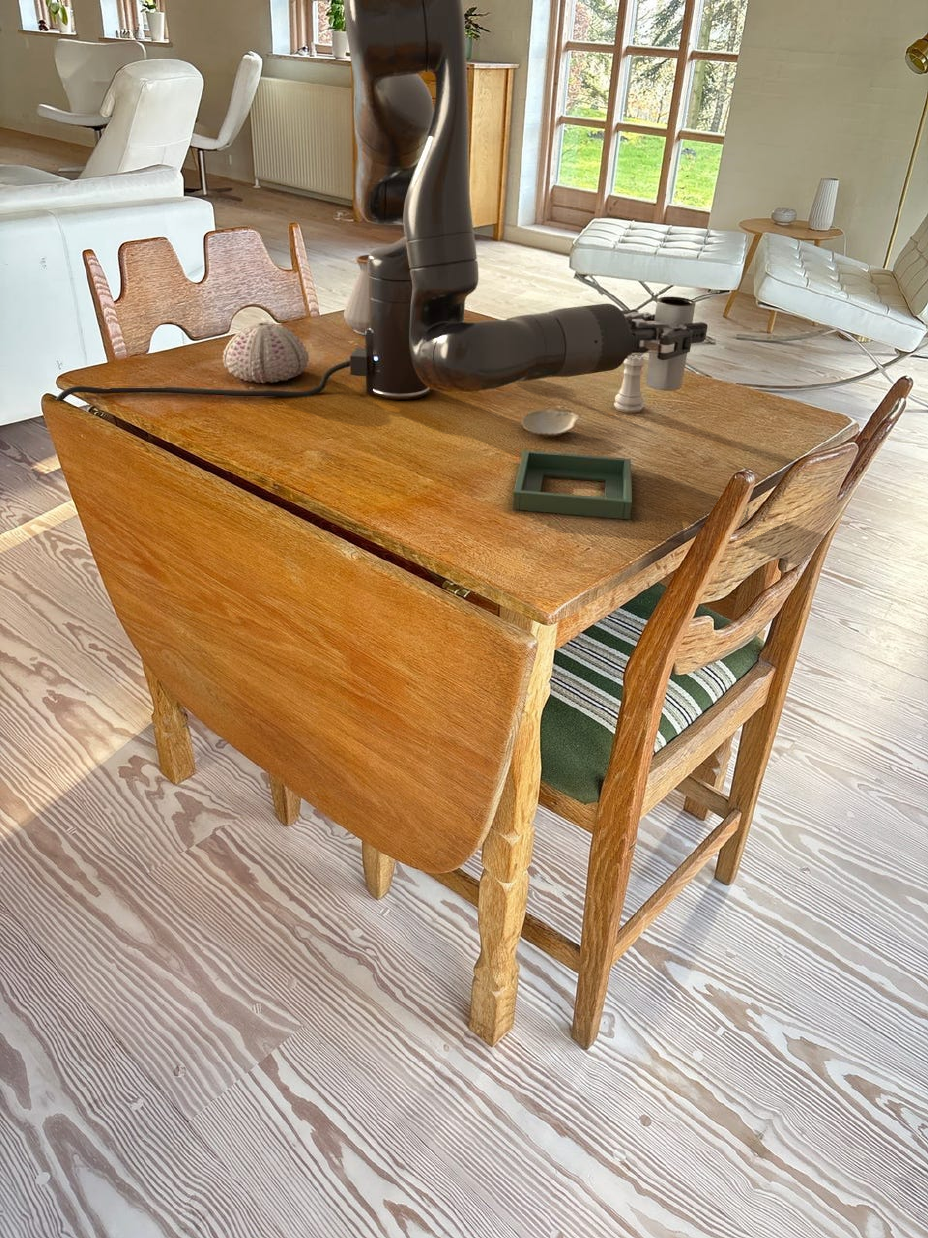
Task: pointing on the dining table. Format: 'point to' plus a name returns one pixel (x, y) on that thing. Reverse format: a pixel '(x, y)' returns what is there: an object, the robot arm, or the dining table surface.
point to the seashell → (549, 421)
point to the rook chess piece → (631, 386)
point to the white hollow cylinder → (674, 313)
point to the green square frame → (574, 467)
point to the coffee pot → (359, 300)
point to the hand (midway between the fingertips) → (688, 326)
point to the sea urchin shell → (265, 354)
